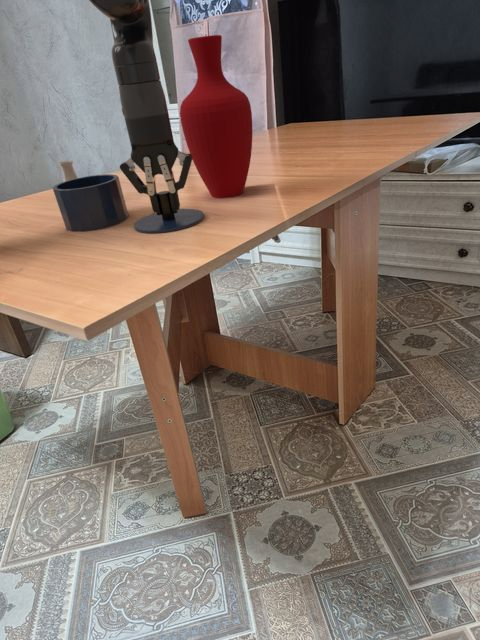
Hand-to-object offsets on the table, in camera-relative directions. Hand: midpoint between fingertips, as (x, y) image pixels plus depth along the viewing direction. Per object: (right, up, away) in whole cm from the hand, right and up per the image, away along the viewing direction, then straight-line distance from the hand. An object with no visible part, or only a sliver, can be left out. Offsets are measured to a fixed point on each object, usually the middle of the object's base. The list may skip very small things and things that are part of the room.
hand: (167, 212), depth 89 cm
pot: (-16, 0, +7) cm, 18 cm away
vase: (+10, +8, +16) cm, 20 cm away
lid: (0, -1, +1) cm, 2 cm away
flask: (-27, +9, +25) cm, 38 cm away
